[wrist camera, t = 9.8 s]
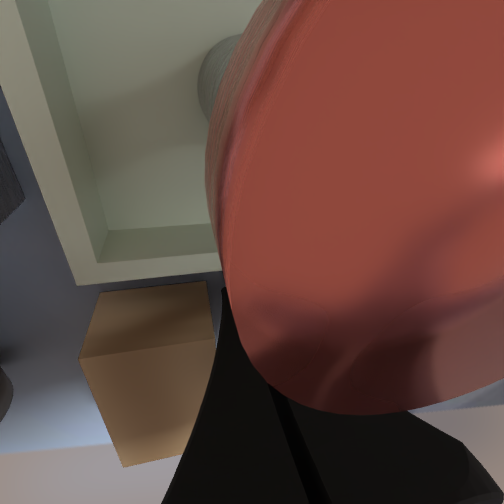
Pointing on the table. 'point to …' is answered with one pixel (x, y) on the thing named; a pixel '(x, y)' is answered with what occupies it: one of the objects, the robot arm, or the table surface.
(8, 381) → the trolley
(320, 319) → the pin
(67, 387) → the table surface
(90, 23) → the tray
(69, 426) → the table surface
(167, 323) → the block
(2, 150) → the socket
